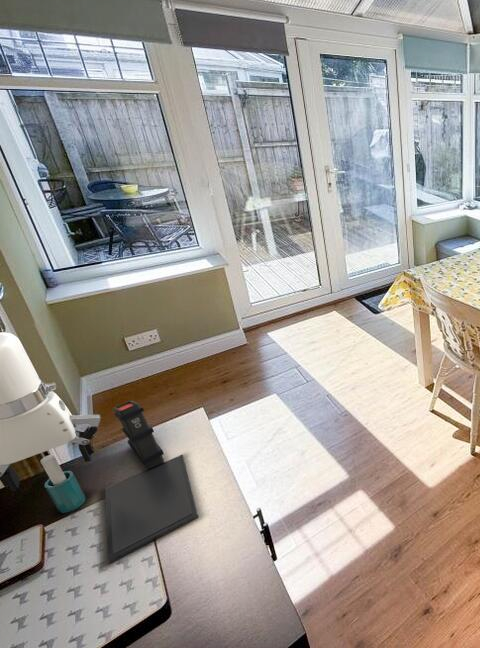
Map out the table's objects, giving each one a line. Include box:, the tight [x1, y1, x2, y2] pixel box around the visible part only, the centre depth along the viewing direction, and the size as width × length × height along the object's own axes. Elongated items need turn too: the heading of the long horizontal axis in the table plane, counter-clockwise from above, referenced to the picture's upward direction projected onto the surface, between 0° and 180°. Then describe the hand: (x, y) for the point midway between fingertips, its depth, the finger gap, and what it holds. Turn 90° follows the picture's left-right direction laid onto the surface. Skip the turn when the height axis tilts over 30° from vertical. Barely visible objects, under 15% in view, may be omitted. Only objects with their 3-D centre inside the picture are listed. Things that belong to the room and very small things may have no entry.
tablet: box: [104, 454, 199, 564], centre depth 83 cm, size 13×19×1 cm
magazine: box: [113, 400, 165, 470], centre depth 92 cm, size 4×13×15 cm, turn 54°
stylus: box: [39, 454, 67, 486], centre depth 80 cm, size 2×2×12 cm
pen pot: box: [44, 470, 87, 514], centre depth 81 cm, size 4×4×7 cm
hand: (54, 470), depth 79 cm, fingers open, 9 cm apart
